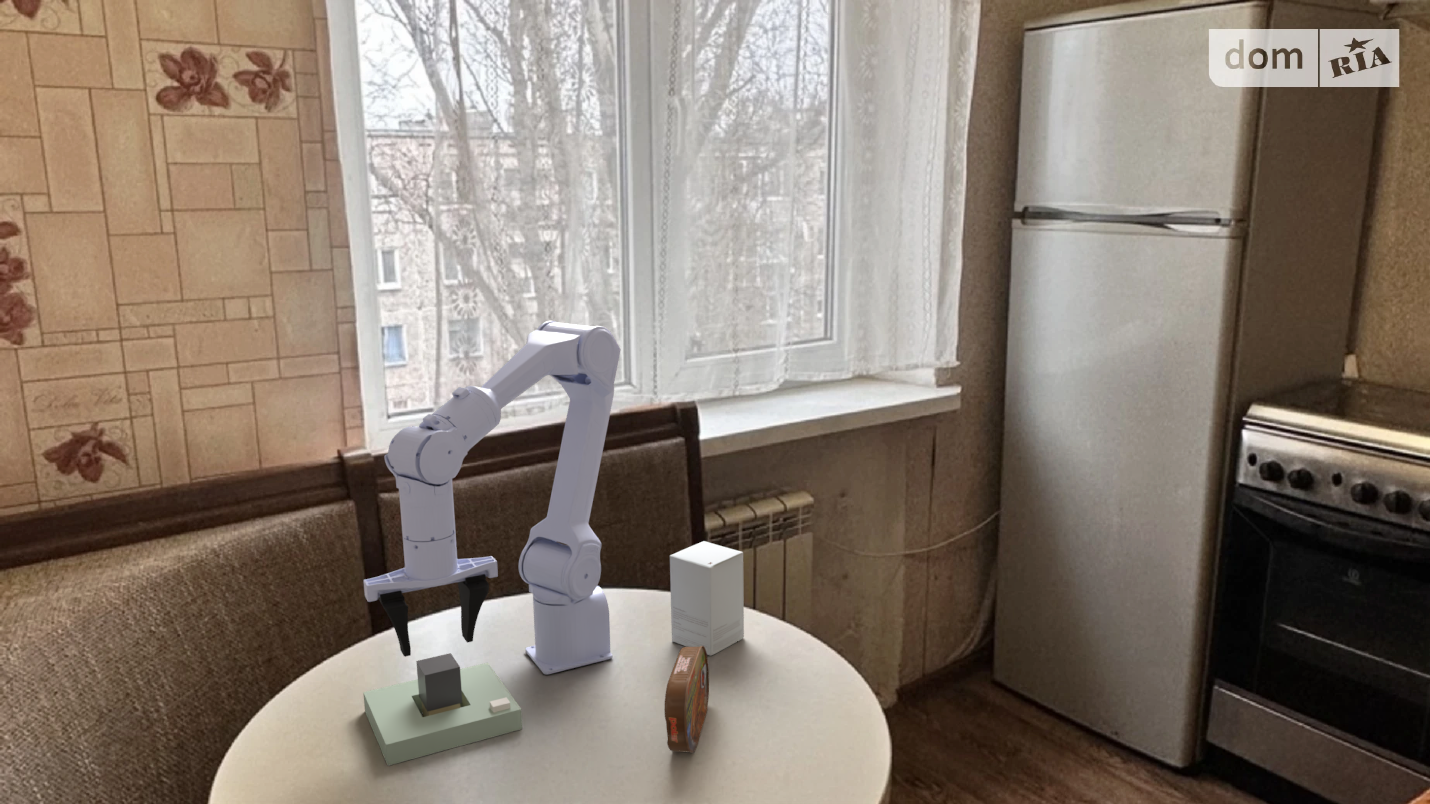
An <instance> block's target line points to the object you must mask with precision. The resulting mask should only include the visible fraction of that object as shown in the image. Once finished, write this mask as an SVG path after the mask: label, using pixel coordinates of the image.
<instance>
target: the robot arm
mask: <svg viewBox="0 0 1430 804" xmlns="http://www.w3.org/2000/svg"><path fill="white" fill-rule="evenodd" d="M525 342H526V343H525V345H523V346H522V347H521V348H520V349H519V350H518V351H517V352H516V353H514V355H513V356H512V357H511V358H510V359H508V361H507V362H505V364H503V365H502V366H501V367H500V368H499V369H498V370H497V371H496V372H495V373H494V374H493V375H492V376H491V377H490V378H489V379H488V380H487V381H486V382H485V383H484V384H482V385H481V387H480V386H476V385H468V386H464V387H457V388H456V389H455V390H453V391H452V393H451V395H452V397H451V398H450V399H448V400H447V401H446V402H445V403H444V404H442V406H440V407H439V408H438V409H436V410H435V411H434V412H432V414H431V413H428V414H426V415H425V416H424V417H423V418H422V421H421V423H420V424H419V425H418V426H416V425H412V426H406V427H404V428H402V429H400V430H399V431H398V432H397V433H396V434H395V435H394V436H393V438H392V439H391V441H390V443H389V445H388V451H387V454H386V453H385V455H384V462H385V465H386V467H387V469H388V470H389V472H391V474H393V476H394V478H395V485H396V489H398V494H399V495H398V496H399V506H400V507H399V508H400V519H401V521H400V522H401V533H402V543H403V544H402V547H403V556H404V557H403V558H404V567H403V568H399V569H397V570H394V571H391V572H388V573H384V574H381V575H379V576H375V577H371V578H367V579H366V578H365V579H363V590H364V591H363V592H364V597H365V599H366V600H367V602H368V603H371V602H375V601H378V600H379V602H380V605H382V607H383V609H384V611H385V612H386V614H387V615H388V617H389V620H390V621H391V623H392V626H393V629H394V631H395V633H396V638H397V640H398V644H399V648H400V651H401V653H402V655H403V657H409V656H411V653H412V652H411V641H410V635H409V628H408V627H409V620H408V619H409V618H408V617H409V605H408V604H407V602H406V600H405V598H406V597H405V596H404V595H403V594H404V593H409V592H415V591H420V590H426V589H430V588H435V587H441V586H445V585H450V584H451V585H452V584H454V583H457V587H458V593H459V603H460V618H461V619H460V621H461V625H460V626H461V629H460V630H461V634H462V635H461V636H462V637H463V639H464V640H465V642H466V643H472V642H473V641H474V635H475V628H476V624H477V620H478V616H479V614H480V611H481V608H482V606H483V603H484V602H485V599H486V598H487V596H488V595H489V591H490V584H489V582H488V581H487V578H489V579H492V578H497V577H498V576H499V575H498V574H499V573H498V572H499V571H498V569H499V568H498V561H497V560H496V558H495V557H493V556H492V555H490V556H483V557H482V556H481V557H473V558H472V557H471V558H458V549H457V535H456V519H455V516H456V515H455V504H454V503H455V501H454V488H453V486H454V485H453V479H454V478H456V476H457V475H458V473H460V470H461V468H462V465H463V461H464V459H465V457H467V455H468V452H470V450H471V449H472V448H474V446H475V445H477V444H478V443H479V442H480V441H481V440H482V439H484V438H485V437H486V436H487V435H488V434H489V433H490V432H492V431H493V430H494V429H495V428H496V427H498V425H499V424H500V422H501V419H502V418H501V417H502V409H503V408H504V407H506V406H507V405H508V404H510V403H511V402H513V401H514V400H515V399H517V398H518V397H519V396H521V395H522V394H523V393H525V392H526V391H527V390H529V389H530V388H532V387H533V386H534V385H535V384H537V383H538V382H539V381H541V380H543V378H545V377H546V376H547V377H548V376H550V377H551V378H552V379H553V380H555V381H556V382H557V383H558V384H559V385H561V387H562V389H563V390H564V392H565V393H566V395H567V396H568V398H569V403H568V408H567V413H566V418H565V422H564V423H565V424H564V428H563V432H562V437H561V444H560V449H559V454H558V459H557V464H556V469H555V473H554V477H553V483H552V488H551V489H552V490H551V495H550V500H549V505H548V510H547V513H546V514H547V515H546V517H545V518H543V519H542V520H541V521H539V522H538V523H537V524H535V525H534V526H532V527H531V528H530V531H529V536H528V540H527V542H526V544H525V546H524V547H523V549H522V551H521V553H520V556H519V560H518V572H519V576H520V577H521V580H522V581H523V582H525V583H526V584H528V593H531V594H532V605H533V607H532V608H533V609H532V610H533V623H534V624H533V625H534V626H533V627H534V629H533V631H534V645H531V646H527V647H525V650H524V652H525V653H526V654H527V655H528V656H529V657H530V658H531V660H532V661H533V663H535V665H536V667H537V668H538V669H539V670H540V671H541V672H542V674H543V675H551V674H555V673H560V672H563V671H567V670H571V669H574V668H575V669H576V668H579V667H583V666H587V665H592V664H595V663H599V662H602V661H607V660H611V659H613V656H614V654H613V653H612V652H611V631H610V630H611V629H610V627H611V626H610V625H611V624H610V609H609V603H608V599H607V596H606V594H605V592H604V589H602V587H600V585H598V584H599V582H600V579H601V575H602V574H601V572H602V565H601V549H602V545H603V544H602V542H601V540H600V539H599V537H598V536H597V534H596V533H595V532H594V531H593V529H592V528H591V526H590V524H589V523H590V517H591V512H592V508H593V503H594V502H593V501H594V497H595V491H596V487H597V482H598V476H599V471H600V466H601V462H602V457H603V452H604V451H603V450H604V447H605V440H606V436H607V432H608V426H609V420H610V416H611V412H612V406H613V400H614V394H615V382H616V381H615V379H616V377H617V376H616V375H617V370H618V365H619V360H620V355H621V351H622V350H621V348H620V345H619V344H618V343H617V340H616V339H615V336H614V335H613V333H612V332H611V331H610V329H609V328H607V327H605V326H602V325H595V326H594V325H593V326H590V325H582V324H572V323H565V322H559V321H556V320H546V321H544V322H543V323H541V324H540V325H539V326H538V327H537V328H536V329H535V330H533V331H531V332H529V333H528V334H527V336H526V341H525Z"/></svg>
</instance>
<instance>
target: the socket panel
mask: <svg viewBox="0 0 1430 804" xmlns="http://www.w3.org/2000/svg"><path fill="white" fill-rule="evenodd" d="M460 675H461V690H462V703H460V708H457V709H453V710H449V711H446V712H442V713H438V714H434V715H430V716H426V717H423V714H422V701H421V699H420V697H419V689H418V678H416V679H413V680H408V681H404V682H400V683H397V684H391V685H388V686H382V687H379V688H375V689H374V688H373V689H372V690H371V689H370V690H367V691H363V692H362V693H363V704H364V705H363V706H364V712H365V715H366V717H367V720H368V722H369V724H370V727H371V729H372V732H373V734H374V737H375V739H376V741H377V744H378V745H379V749H380V750H381V753H382V756H383V758H384V761H385V763H386V764H387V766H392V765H396V764H399V763H400V764H401V763H403V762H406V761H410V760H414V759H418V758H421V757H424V756H430V755H433V754H436V753H441V752H444V751H447V750H450V749H451V750H452V749H454V748H457V747H461V746H464V745H469V744H472V743H476V742H479V741H483V740H487V739H490V738H494V737H498V736H501V735H506V734H508V733H512V732H516V731H519V730H523V720H522V718H523V717H522V708H521V706H519V705H520V704H518V702H517V701H516V700H515V698H514V697H513V695H512V694H511V692H510V691H509V690H508V689H507V686H505V684H504V683H503V681H501V679H500V678H499V676H498V675H497V673H496V672H495V671H494V669H493V668H492V666H491V665H490V664H489V663H488V662H485V663H480V664H476V665H472V666H468V667H464V668H460Z"/></svg>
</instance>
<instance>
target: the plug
mask: <svg viewBox="0 0 1430 804" xmlns="http://www.w3.org/2000/svg"><path fill="white" fill-rule="evenodd" d="M460 669H461V667H460V665H459V663H458V662H457V660H456V659H455V658H454V656H453V654H452V653H446V654H445V653H444V654H441V655H440V654H439V655H437V656H433V657H432V656H431V657H429V658H428V657H427V658H423V659H419V660H416V674H417V679H418V689H419V697H420V699H421V701H422V713H421V715H422V717H426V716H430V715H434V714H438V713H442V712H446V711H449V710H453V709H457V708H461V706H460V703H462V690H461V675H460Z"/></svg>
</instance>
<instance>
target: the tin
mask: <svg viewBox="0 0 1430 804" xmlns="http://www.w3.org/2000/svg"><path fill="white" fill-rule="evenodd" d="M708 660H709V659H708V655H707V652H706V649H705V647H704V646H700V647H686V646H684V647H682V648H680V650H679V652H678V655H677V658H676V660H675V663H674V665H673V666H672V670H671V673H670V675H669V678H668V681H667V684H666V689H665V694H664V695H665V696H664V718H665V724H666V736H667V742H666V744H667V747H668V749H669V751H671V752H675V753H676V752H678V753H683V752H684V753H691V754H693V753H695V752H696V750H697V747H698V744H699V740H700V736H701V734H702V730H703V726H704V723H705V720H706V716H707V713H708V712H707V711H708V707H709V697H710V674H709V673H710V672H709V671H710V670H709V661H708Z"/></svg>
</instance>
